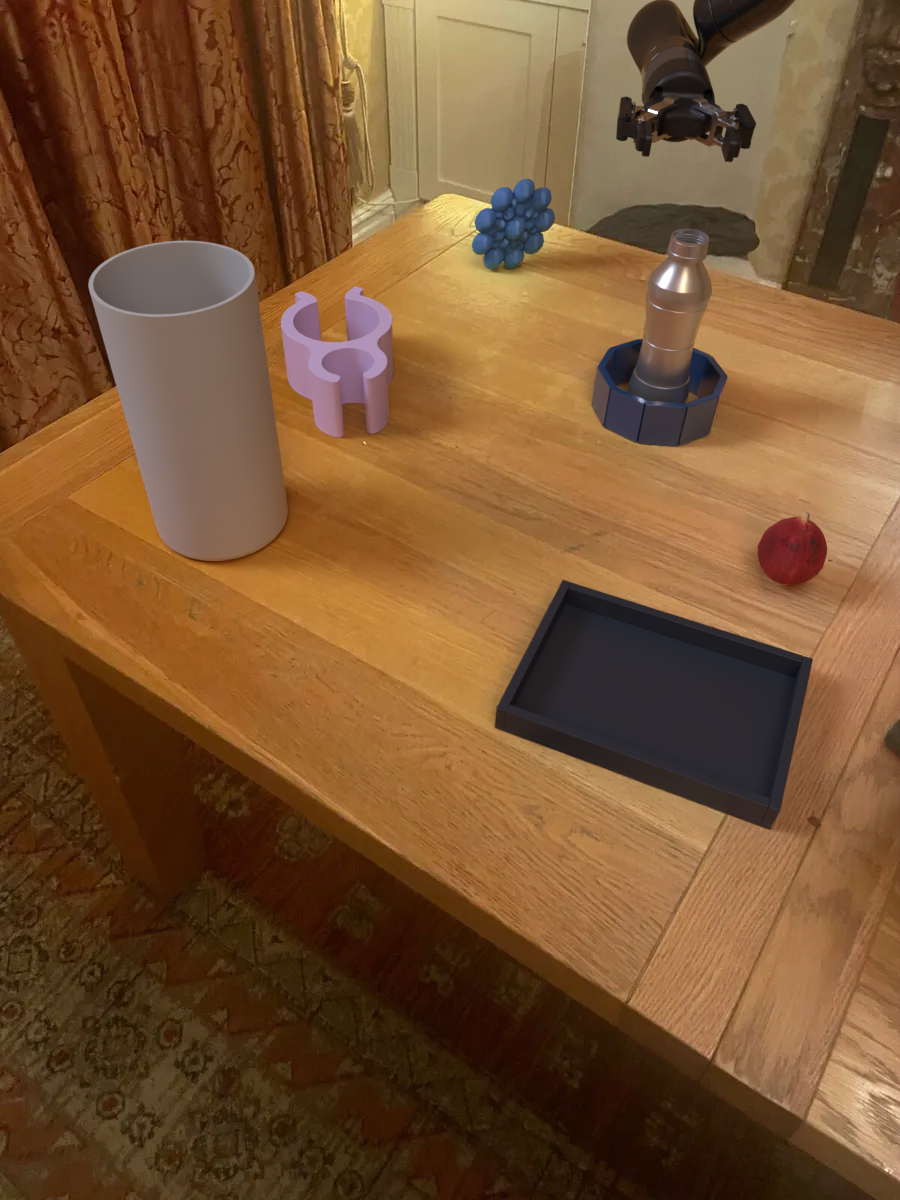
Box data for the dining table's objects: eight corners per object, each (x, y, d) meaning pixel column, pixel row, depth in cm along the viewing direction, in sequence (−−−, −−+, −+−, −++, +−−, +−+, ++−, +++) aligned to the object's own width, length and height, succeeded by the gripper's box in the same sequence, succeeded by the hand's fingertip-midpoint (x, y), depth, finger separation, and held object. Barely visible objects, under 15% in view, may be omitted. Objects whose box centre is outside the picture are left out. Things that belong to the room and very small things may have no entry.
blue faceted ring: (726, 393, 106) (737, 354, 102) (698, 459, 97) (709, 420, 93) (614, 365, 109) (621, 327, 106) (577, 427, 100) (583, 388, 97)
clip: (412, 429, 99) (412, 374, 94) (298, 442, 97) (292, 386, 92) (382, 337, 113) (380, 284, 108) (281, 346, 111) (275, 293, 106)
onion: (824, 596, 83) (854, 530, 77) (769, 609, 81) (795, 542, 76) (790, 554, 86) (816, 488, 81) (736, 565, 85) (759, 499, 79)
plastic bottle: (678, 431, 100) (720, 256, 86) (618, 418, 102) (650, 244, 87) (688, 401, 104) (730, 229, 90) (630, 389, 106) (662, 218, 91)
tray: (803, 678, 76) (813, 658, 74) (770, 830, 66) (780, 811, 64) (559, 599, 82) (562, 579, 80) (494, 728, 72) (496, 707, 70)
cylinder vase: (131, 544, 86) (53, 296, 68) (203, 469, 94) (151, 230, 76) (247, 580, 82) (197, 330, 65) (311, 499, 91) (283, 257, 73)
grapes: (539, 250, 131) (547, 163, 122) (555, 271, 126) (565, 183, 118) (461, 259, 128) (464, 171, 120) (476, 281, 124) (480, 191, 115)
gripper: (619, 52, 101) (626, 106, 90) (748, 60, 100) (770, 114, 90) (608, 124, 107) (614, 182, 96) (730, 132, 106) (750, 191, 95)
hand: (689, 149), depth 93 cm, fingers open, 8 cm apart
